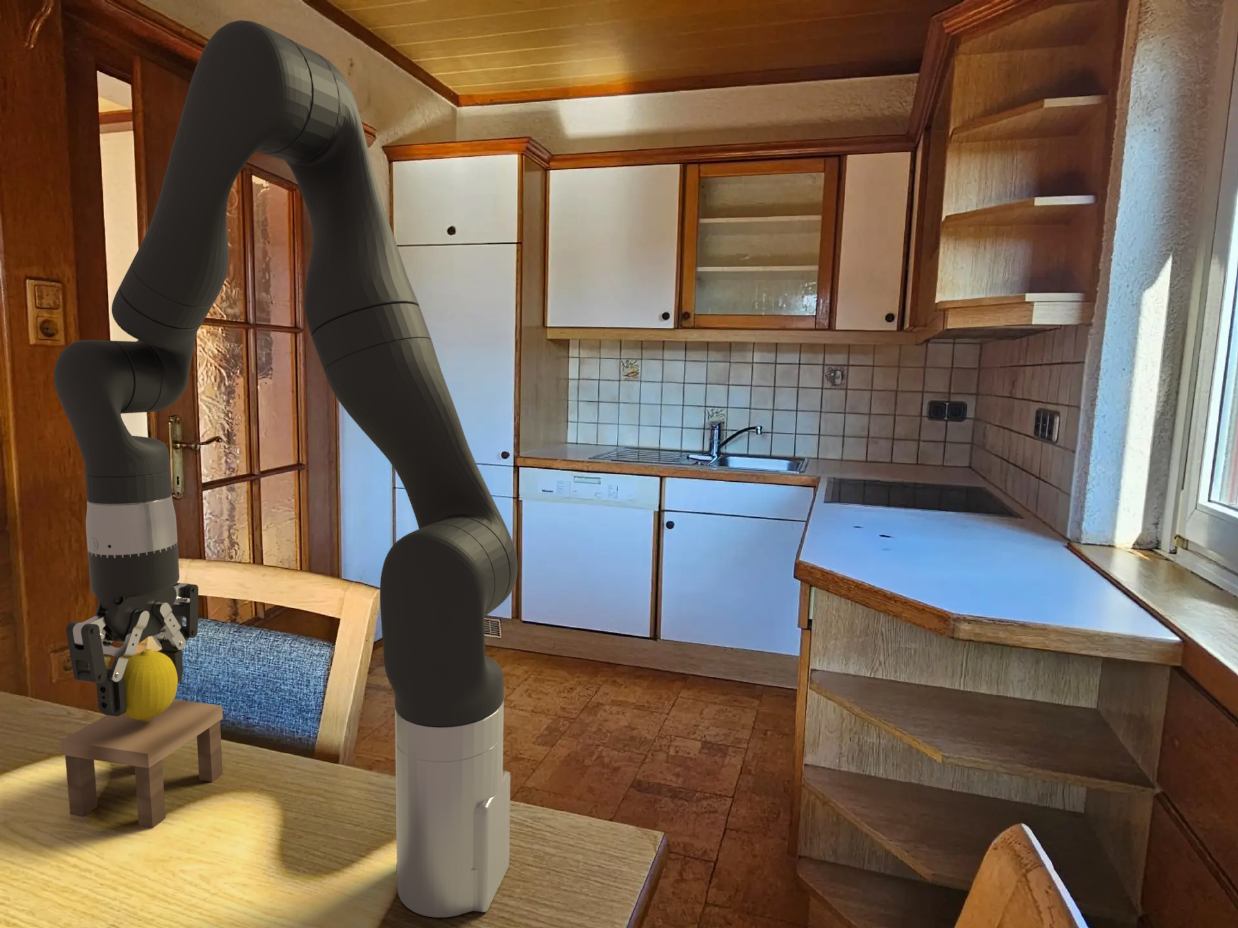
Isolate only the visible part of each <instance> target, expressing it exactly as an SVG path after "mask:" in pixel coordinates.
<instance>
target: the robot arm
mask: <svg viewBox="0 0 1238 928" xmlns="http://www.w3.org/2000/svg"><path fill="white" fill-rule="evenodd" d="M184 101H185V102H184V105H183V109H182V112H181V116H180V119H179V123H178V127H177V130H176V134H175V137H174V140H173V142H172V143H173V144H172V148H171V151H170V156H169V158H168V163H167V168H166V171H165V174H164V179H163V181H162V185H161V190H160V193H159V197H158V200H157V203H156V207H155V209H154V213H153V216H152V218H151V220H150V223H149V225H148V229H147V231H146V233H145V234H144V237H143V239H142V242H141V244H140V246H139V248H138V250H137V252H136V253H135V256H134V258H133V259H132V260H131V263H130V265H129V266H128V269H127V271H126V273H125V275H124V277H123V278H122V281H121V283H120V284H119V286H118V288H117V290H116V293H115V295H114V297H113V300H112V304H111V315H112V318H113V320H114V322H115V323H116V324H117V326H118V327H119V328H120V329H121V330H122V331H124V333H126V334H127V335H129V336H130V337H132V338H134V339H136V341H132V340H131V341H130V340H129V341H128V340H105V339H104V340H103V339H100V340H99V339H84V340H83V339H82V340H76V341H73V342H71V343H69V344H68V345H67V346H66V347H65V348H63V349H62V350H61V352H60V354H59V355H58V356H57V360H56V362H55V365H54V369H53V370H54V371H53V382H54V387H55V390H56V391H55V392H56V393H57V396H58V399H59V402H60V404H61V406H62V409H63V411H64V413H65V415H66V417H67V420H68V422H69V425H70V427H71V430H72V433H73V435H74V437H75V440H76V443H77V446H78V448H79V450H80V454H81V455H82V459H83V463H84V474H85V487H86V489H85V490H86V514H85V515H86V517H85V533H86V535H85V536H86V545H87V547H86V548H87V557H88V558H87V560H88V561H87V562H88V571H89V572H88V574H89V586H90V587H89V588H90V590H91V592H92V593H93V595H94V596H95V597H96V599H97V601H98V602H97V608H96V611H95V613H94V616H93V617H90V618H89V619H86V620H85V621H83V622H79V621H71V622H69V623H67V626H66V627H65V633H66V638H67V639H66V640H67V644H68V651H69V655H70V660H71V661H70V662H71V669H72V672H73V673H72V674H73V678H74V680H75V681H78V682H85V683H93V684H94V683H95V684H96V695H97V696H96V697H97V707H98V709H99V712H101V713H102V714H103V715H105V716H106V715H109V716H117V717H118V716H120V715H122V714H124V713H125V712H126V710H127V709H126V695H125V680H124V679H123V678H122V677H123V674H124V671H125V668H126V665H127V662H128V659H129V658H131V657H133V656H134V655H135V654H136V652H137V649H138V646H139V644H141V643H142V642H143V641H145V640H146V639H147V638H148V637H151V638H153V640H154V641H155V643H156V644H157V647H159V648H161V649H159V650H157V652H160V653H163V654H165V655H166V656H168V657H169V658H170V659H171V660H172V662H173V664H174V666H175V668H176V672H177V677H178V684H179V683H181V682H182V680H183V678H182V676H183V673H184V663H183V650H184V648H185V647H186V644H187V641H188V640H189V639H194V638H196V636H197V635H198V632H199V585H198V584H194V583H193V584H192V583H188V582H179V580H180V566H179V565H180V563H179V547H178V546H179V545H178V531H177V529H178V528H177V527H178V525H177V515H176V510H175V506H174V501H173V496H172V493H173V492H172V477H171V474H172V473H171V462H170V461H171V459H170V453H169V448H168V447H167V445H166V444H165V443H164V442H163V440H162V441H161V440H160V439H158V438H153V437H147V436H142V435H141V436H139V435H132V434H131V432H130V431H129V430H128V428H127V426H126V425H125V421H124V420H123V419H122V418H123V417H122V414H123V415H124V414H138V413H140V414H141V413H153V412H160V411H162V410H163V411H164V410H165V409H168V408H169V407H171V406H172V405H173V404H175V403H176V402H178V400H179V399H181V397H182V396H183V395H184V392H185V390H186V389H187V385H188V382H189V375H190V370H191V364H192V360H193V359H192V358H193V355H194V349H195V342H196V338H197V337H196V336H197V332H198V331H199V329H200V328H201V326H202V325H203V323H204V321H205V319H206V318H207V316H208V314H209V312H210V310H211V308H212V307H213V305H214V304H215V302H216V300H217V299H218V297H219V294H220V293H221V291H222V289H223V286H224V285H225V281H226V278H227V274H228V269H229V262H230V259H229V257H230V250H229V236H228V226H227V223H228V222H227V212H228V211H227V210H228V203H229V196H230V194H231V192H232V188H233V185H234V183H235V180H236V179H237V177H238V175H239V174H240V172H241V171H242V169H243V168H244V166H245V165H246V164H247V162H248V161H249V159H250V158H251V157H252V156H253V154H255V152H257V153H261V154H263V155H266V156H269V157H273V158H276V159H280V160H282V161H285V163H286V164H287V166H288V167H289V168H290V171H291V172H292V174H293V176H294V178H295V180H296V181H295V182H296V183H297V185H298V188H299V189H300V190H299V191H300V192H301V196H302V199H303V201H304V204H305V206H306V209H307V213H308V216H309V219H310V224H311V231H312V245H311V253H310V259H309V264H308V270H307V275H306V282H305V291H304V315H305V320H306V324H307V327H308V330H309V334H310V337H311V339H312V342H313V345H314V347H315V351H316V353H317V356H318V358H319V362H320V364H321V367H322V370H323V372H324V375H325V377H326V381H327V382H328V384H329V386H330V388H331V391H332V393H333V394H334V396H335V398H336V399H337V401H338V402H339V403H340V404H341V406H342V408H343V409H344V410H345V412H347V414H348V415H349V416H350V417H351V419H352V420H353V421H354V422H355V424H356V425H357V426H358V427H359V428H360V429H361V430H362V432H364V433H365V435H366V436H367V437H368V438H369V439H370V441H372V442H373V444H374V445H375V446H376V447H377V448H378V450H379V451H380V452H381V453H382V454H383V455H384V457H385V459H387V460H388V461H389V463H390V464H391V466H392V467H393V469H394V470H395V472H396V474H397V476H398V477H399V479H400V481H401V483H402V486H403V487H404V490H405V492H406V495H407V497H408V500H409V502H410V504H411V508H412V511H413V513H414V517H415V520H416V523H417V527H418V529H416V530H414V531H411V532H408V533H407V534H405V535H404V536H402V537H401V538H399V539H398V540H397V541H396V542H395V543H393V545H392V546H391V547H390V549H389V550H388V551H387V554H386V556H385V558H384V561H383V565H382V570H381V573H380V580H379V605H380V606H379V607H380V620H381V621H380V623H381V636H382V637H381V639H382V649H383V650H382V651H383V652H382V653H383V663H384V671H385V675H386V678H387V680H388V682H389V684H390V686H391V689H392V691H393V694H394V729H395V730H394V732H395V733H394V735H395V736H394V740H395V741H394V742H395V743H394V747H395V748H394V749H395V751H394V752H395V758H394V759H395V810H396V811H395V817H396V818H395V819H396V820H395V822H396V823H395V825H396V827H395V828H396V829H395V830H396V831H395V834H396V838H395V839H396V865H395V867H396V868H395V869H396V882H397V883H396V887H397V895H398V898H399V899H400V901H401V903H402V904H404V906H405V907H406V908H407V909H408V910H411V911H412V912H414V913H415V914H418V915H421V916H425V917H431V918H450V917H457V916H460V915H463V914H466V913H470V912H481V913H485V912H488V910H489V908H490V905H491V904H492V901H493V900H494V898H495V896H496V894H497V892H498V890H499V888H500V885H501V883H502V882H503V879H504V877H505V875H506V873H507V871H508V870H509V867H510V841H511V840H510V837H511V836H510V831H511V830H510V827H511V826H510V825H511V773H510V772H509V771H506V770H503V769H504V703H505V701H504V697H505V695H504V694H505V680H504V679H505V677H504V672H503V669H502V667H501V665H500V664H499V663H498V662H497V661H495V659H493V658H491V657H489V656H486V640H485V638H486V637H485V617H486V616H487V615H490V614H491V612H493V611H494V610H496V609H497V608H498V607H500V605H502V604H503V603H504V602H505V601H506V600H507V599H508V598H509V596H510V594H511V593H512V592H513V589H514V588H515V585H516V582H517V578H518V564H519V563H518V558H517V557H518V556H517V552H516V548H515V545H514V542H513V539H512V536H511V534H510V532H509V530H508V527H507V526H506V523H505V521H504V519H503V517H502V515H501V513H500V511H499V508H498V507H497V505H496V502H495V500H494V498H493V496H492V494H491V492H490V490H489V487H488V486H487V483H486V482H485V480H484V477H483V476H482V473H481V471H480V469H479V467H478V465H477V463H476V461H475V458H474V455H473V453H472V451H471V448H470V446H469V444H468V441H467V438H466V435H465V432H464V429H463V427H462V424H461V420H460V418H459V415H458V412H457V410H456V407H455V404H454V401H453V399H452V398H453V397H452V396H451V393H450V391H449V388H448V385H447V382H446V379H445V378H444V374H443V372H442V368H441V366H440V362H439V359H438V357H437V353H436V350H435V346H434V343H433V340H432V337H431V335H430V331H429V329H428V326H427V324H426V321H425V317H424V315H423V312H422V310H421V307H420V303H419V301H418V299H417V297H416V294H415V292H414V289H413V287H412V285H411V282H410V280H409V276H408V273H407V272H406V268H405V265H404V262H403V260H402V257H401V253H400V250H399V248H398V244H397V242H396V238H395V235H394V232H393V230H392V227H391V224H390V221H389V218H388V216H387V213H386V210H385V206H384V204H383V201H382V198H381V195H380V190H379V186H378V183H377V179H376V176H375V172H374V168H373V164H372V163H373V162H372V160H371V156H370V151H369V147H368V142H367V138H366V135H365V134H366V133H365V130H364V127H363V122H362V119H361V114H360V111H359V108H358V105H357V101H356V97H355V96H354V93H353V90H352V89H351V87H350V85H349V83H348V80H347V79H346V76H344V75H343V72H342V71H340V70H339V69H338V67H337V66H336V65H335V64H333V62H331V61H330V60H329V59H327V58H326V57H324V56H322V55H321V54H319V53H317V52H316V51H314V50H312V49H310V48H307V47H306V46H303V44H300V43H299V42H297V41H294V40H292V39H291V38H289V37H287V36H285V35H284V34H281V33H279V32H277V31H275V30H273V29H272V28H269V27H268V26H265V25H263V24H260V23H257V22H255V21H251V20H245V19H243V20H240V19H239V20H235V21H231V22H228V23H226V24H224V25H223V26H221V27H220V28H219V29H217V30H216V32H215V33H214V34H213V35H212V36H211V37H210V38H209V40H208V41H207V42H206V44H205V46H204V48H203V50H202V52H201V54H200V56H199V59H198V62H197V64H196V66H195V69H194V71H193V75H192V77H191V80H190V84H189V88H188V91H187V95H186V97H185V100H184ZM183 617H184V618H185V625H183V624H184V623H183V620H184V619H183ZM114 642H116V643H118V644H122V645H121V646H120V647H115V646H113V643H114ZM112 657H114V659H113V662H112V665H111V667H109V665H110V663H111V660H112Z"/></svg>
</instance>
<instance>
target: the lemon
mask: <svg viewBox="0 0 1238 928" xmlns="http://www.w3.org/2000/svg"><path fill="white" fill-rule="evenodd" d="M157 651H158V650H157ZM157 651H156V650H152V649H150V648H146V649H143V650H142V651H140V652H137V653H135V654H134V656H133V657H131V658H129V659H128V662H127V665H126V668H125V671H124V674H123V677H122V678H123V679H124V680H125V695H126V709H127V710H126V712H125V713H124V715H125V716H127V717H129V718H132V719H137V720H140V721H142V722H148V721H149V720H150V719H151V718H153V717H156V716H157V715H159V714H161V713H162V712H164V711H165V710H166V709H167V708H168V707H169V706H170V704H171V703H172V701H173V700H174V699H176V694H177V690H178V684H179V683H178V677H177V672H176V668H175V666H174V664H173V662H172V660H171V659H170V658H169V657H168V656H166V655H165V654H163V653H160V652H157Z"/></svg>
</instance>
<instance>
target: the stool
mask: <svg viewBox="0 0 1238 928" xmlns="http://www.w3.org/2000/svg"><path fill="white" fill-rule="evenodd" d="M223 715H224V713H223V705H218V704H211V703H205V702H196V701H190V700H189V701H188V700H181V699H176V698H174V700H173V701H172V703H171V704H170V706H169V707H168V708H167V709H166V710H165V711H164V712H162V713H161V714H159V715H157V716H156V717H153V718H151V719H150V720H149V721H148V722H142V721H140V720H137V719H132V718H129V717H127V716H125V715H124V714H122V715H120V716H118V717H117V716H109V715H105V716H103V717H101V718H99V719H97V720H96V721H93V722H92V723H90V724H88V725H86V726H84V727H83V728H81V729H79V730H77V731H75V732H73V733H71V734H70V735H68V736H66V737H64V738H62V739H61V740H59V742H60V743H59V744H60V752H61V753H60V754H61V756H65V757H64V758H65V768H66V772H65V773H66V779H67V780H66V782H67V784H66V785H67V791H68V792H67V793H68V806H69V814H70V815H73V816H74V815H75V816H81V817H84V816H86V815H88V814H89V813H90V812H92V811H93V810H95V809H96V808H98V807H99V806H98V805H99V804H98V794H97V793H98V791H97V781H96V769H95V767H96V766H95V761H101V762H105V763H106V762H107V763H112V764H113V763H114V764H118V765H119V764H120V765H126V766H132V767H134V776H135V789H136V791H135V793H136V803H137V805H136V806H137V819H138V826H139V827H145V828H150V829H153V828H155V827H157V826H158V825H159V824H160V823H161V822H163V821H164V820H165V819H166V802H165V788H164V787H165V785H164V772H163V771H164V770H163V759H165V758H166V757H168V756H170V755H171V754H172V753H174V752H175V751H177V750H178V749H179V748H181V747H183V746H184V745H186V744H187V743H189V742H190V741H192V740H193V739H195V738H196V744H197V746H196V747H197V760H198V761H197V762H198V766H197V767H198V779H199V781H202V782H203V781H204V782H210V783H213V782H214V781H216V780H217V779H218V778H219V777H220V776H222V775H223V774H224V772H223V756H222V735H221V734H222V733H221V721H222V720H223V719H224V718H223V717H224V716H223Z"/></svg>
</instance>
